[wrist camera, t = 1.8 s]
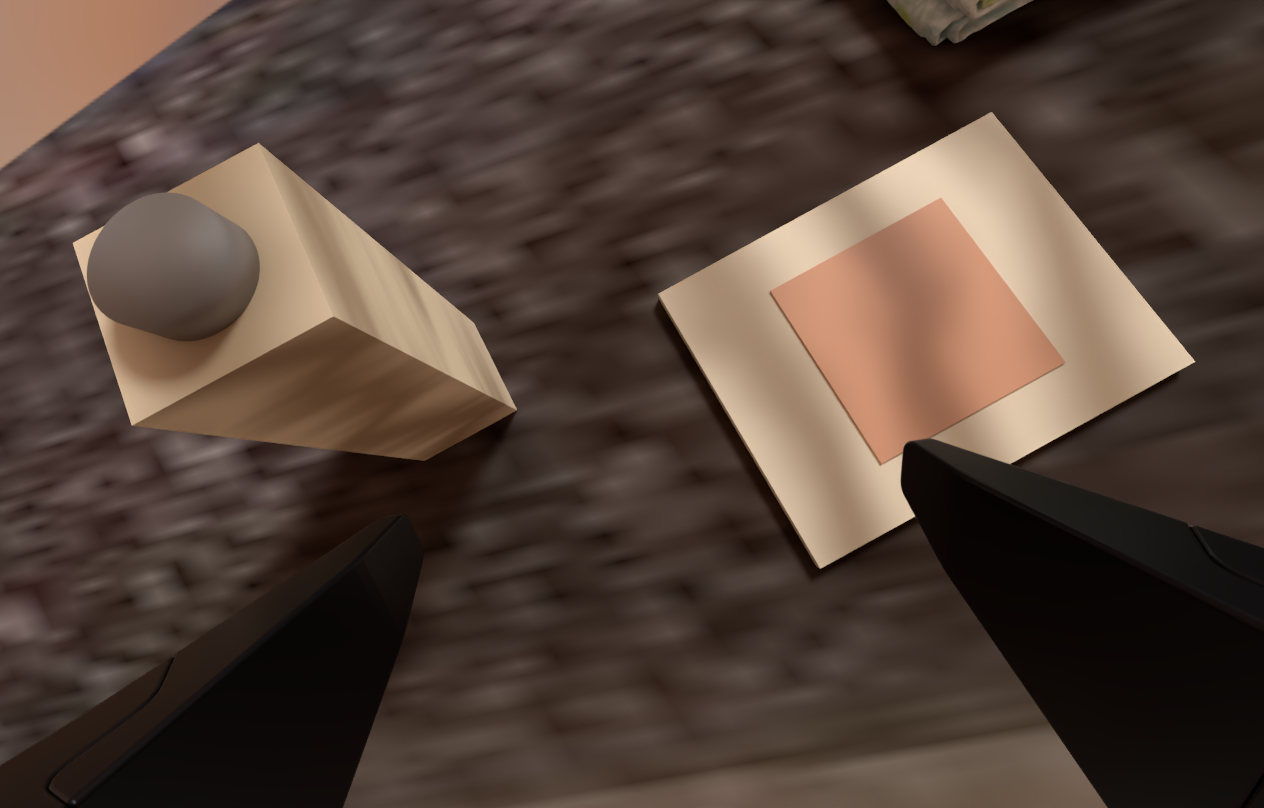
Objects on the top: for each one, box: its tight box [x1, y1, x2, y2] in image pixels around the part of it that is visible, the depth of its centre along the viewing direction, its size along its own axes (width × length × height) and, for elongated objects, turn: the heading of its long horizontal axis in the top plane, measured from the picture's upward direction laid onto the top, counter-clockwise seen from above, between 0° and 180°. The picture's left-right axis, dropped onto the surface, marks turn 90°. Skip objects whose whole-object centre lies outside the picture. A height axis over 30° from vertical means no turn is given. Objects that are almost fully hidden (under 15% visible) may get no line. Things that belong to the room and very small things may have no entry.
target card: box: [658, 112, 1195, 569], centre depth 22 cm, size 18×14×1 cm
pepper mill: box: [73, 143, 517, 461], centre depth 17 cm, size 5×5×14 cm
